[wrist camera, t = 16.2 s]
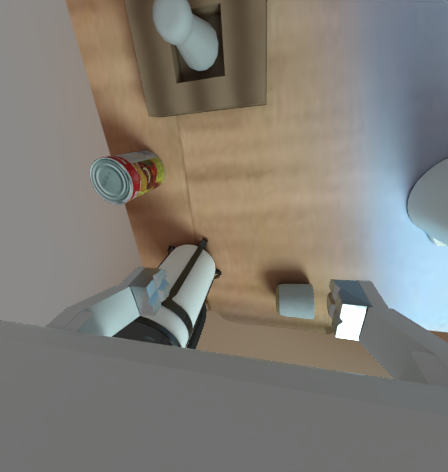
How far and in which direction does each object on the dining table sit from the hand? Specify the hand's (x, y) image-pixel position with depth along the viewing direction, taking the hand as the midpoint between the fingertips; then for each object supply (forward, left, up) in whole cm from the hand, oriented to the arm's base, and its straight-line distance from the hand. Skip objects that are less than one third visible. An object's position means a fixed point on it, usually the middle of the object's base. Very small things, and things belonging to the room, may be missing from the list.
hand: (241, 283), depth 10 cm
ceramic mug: (-7, +31, -34) cm, 47 cm away
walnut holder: (+10, -18, -34) cm, 40 cm away
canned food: (+25, -1, -34) cm, 42 cm away
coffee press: (+17, +23, -34) cm, 45 cm away
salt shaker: (+10, -19, -33) cm, 39 cm away
